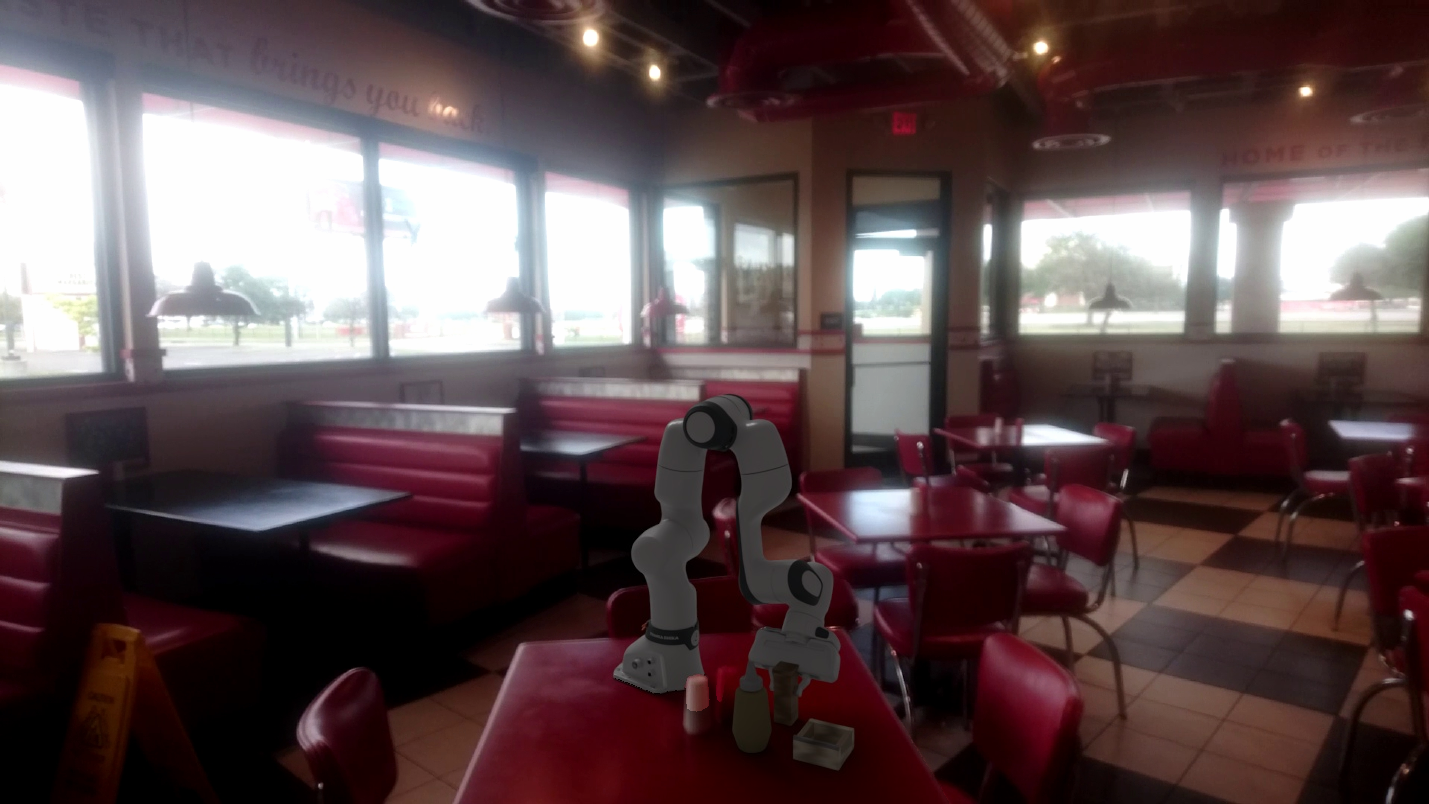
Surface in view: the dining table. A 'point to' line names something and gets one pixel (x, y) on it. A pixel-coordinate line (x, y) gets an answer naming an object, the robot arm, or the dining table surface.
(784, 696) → the brown capped wooden post
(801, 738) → the frame
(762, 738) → the squeeze bottle
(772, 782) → the dining table surface
